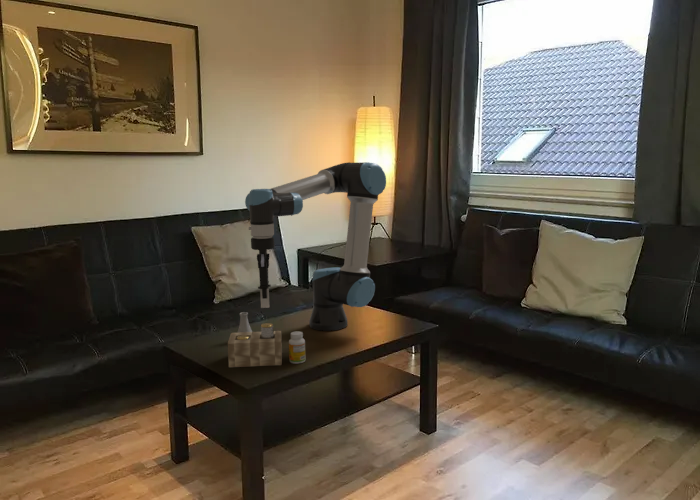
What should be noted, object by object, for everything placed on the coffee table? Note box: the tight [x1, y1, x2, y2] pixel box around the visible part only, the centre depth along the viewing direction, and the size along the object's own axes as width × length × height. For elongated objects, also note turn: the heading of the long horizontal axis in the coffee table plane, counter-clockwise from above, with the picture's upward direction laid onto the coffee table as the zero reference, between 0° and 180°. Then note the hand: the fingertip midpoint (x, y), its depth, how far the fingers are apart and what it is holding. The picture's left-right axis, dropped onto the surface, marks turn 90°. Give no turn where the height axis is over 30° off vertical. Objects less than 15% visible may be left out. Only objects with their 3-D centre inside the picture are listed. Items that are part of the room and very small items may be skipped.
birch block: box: [227, 330, 283, 368], centre depth 208 cm, size 17×12×8 cm
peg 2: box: [260, 322, 274, 339], centre depth 207 cm, size 4×4×8 cm
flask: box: [236, 311, 253, 333], centre depth 231 cm, size 7×7×10 cm
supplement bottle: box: [288, 330, 307, 365], centre depth 206 cm, size 5×5×10 cm
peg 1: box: [237, 335, 249, 340], centre depth 207 cm, size 4×4×8 cm
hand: (265, 307), depth 206 cm, fingers closed
